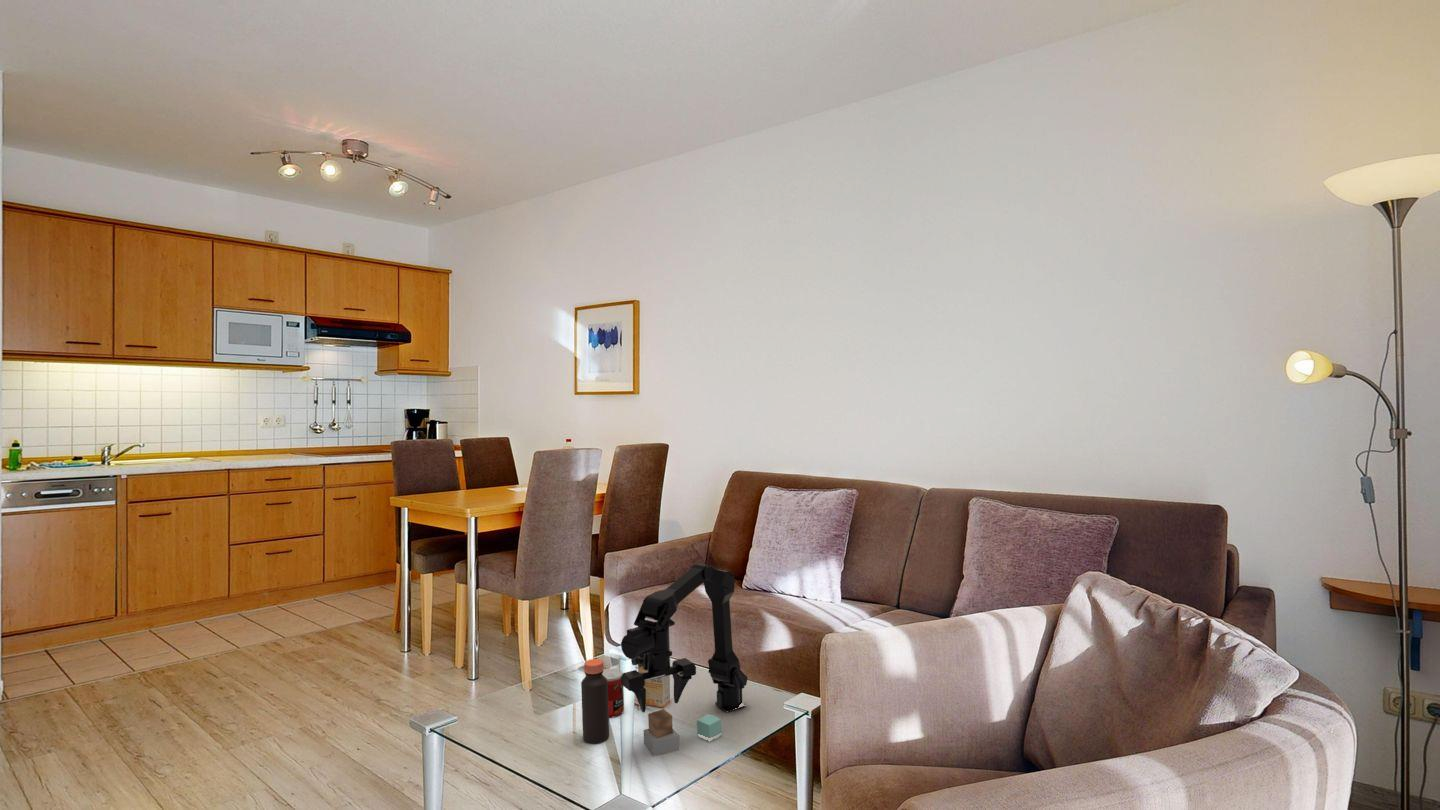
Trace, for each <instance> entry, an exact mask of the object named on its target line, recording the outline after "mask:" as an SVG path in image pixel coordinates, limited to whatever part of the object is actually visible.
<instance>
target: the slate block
mask: <svg viewBox="0 0 1440 810" xmlns="http://www.w3.org/2000/svg"><path fill="white" fill-rule="evenodd" d="M643 745H644V746H645V748H646V749H647V751H648V752H649V753H650V755H651V756H652V757H658V756H660V755H664V754H669V753H673V752H676V751H677V752H678V751H680V735H679V733H677V732H676V730H675V729H674V728H673V733H671V734H668V735H665V736H662V737H659V738H656V737H655V736H654V735H653V734H652V733H650V732H649V728H646V729H643Z"/></svg>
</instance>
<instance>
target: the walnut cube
mask: <svg viewBox="0 0 1440 810" xmlns="http://www.w3.org/2000/svg"><path fill="white" fill-rule="evenodd" d="M647 718H648V720H647V721H648V729H649V732H650V733H652V734H653V735H654V736H655V737H656V738H659V737H662V736H665V735H668V734H671V733H673V729H674V728H673V715H672V714H671V713H670V712H668V711H667V710H666V709H665V708H663V709H660V710H656V711H653V712H650V713H649V712H648V713H647Z"/></svg>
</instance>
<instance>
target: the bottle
mask: <svg viewBox="0 0 1440 810" xmlns="http://www.w3.org/2000/svg"><path fill="white" fill-rule="evenodd" d="M583 666H584V667H583V668H584V674H585V677H584V678H583V679H582V681H581V682H580V687H581V690H580V691H581V692H580V693H581V719H582V722H581V723H582V738H583V741H584V742H585V743H589V744H599V743H600V744H601V743H603V742H605V741H607V740H608V739H609V738H610V737H609V736H610V718H609V711H608V681H607V678H606V677H604V676H603V675H602V673H603V670H604V669H605V668H604V660H602V659H600V658H591V659H587V660H585V661H584V664H583Z"/></svg>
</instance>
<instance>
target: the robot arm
mask: <svg viewBox="0 0 1440 810" xmlns="http://www.w3.org/2000/svg"><path fill="white" fill-rule="evenodd" d="M735 579H736V578H735V575H734V573H732V571H729V570H723V569H718V568H714V567H712V566H709V565H707V564H703V563H695V564H693V565H692V566H691V568H690V569H689V570H688V571H686V572H685V573H684V574H683V575H681V576H680V577H679V578H678V579H677V580H675V581H674V582H672V583H671V584H670V585H669V586H668V587H667V588H664V589H661V590H658V591H654V592H652V593H651V594H649V595H647V596H646V597H644V598H643V600H642V603H641V606H640V608H639V611H638V613H637V615H636V618H635V620H634V622H633V625H634V626H636V627H634V628H628V629H626V634H625V635H624V636H623V637H622V639H621V643H620V648H621V651H622V653H623V655H624V656H625V657H626V658H627V659H630V661H631V665H632V666H638V665H639V668H640V667H643V669H644V670H648V672H647V673H643V674H640V673H639V672H638V670H636V669H635V670H630V671H625V672H623V674H622V676H621V684H622V685H623V688H625V689H627V691H629V692H632V693H633V694H634V695H635V697H636V700H637V703H638V705H639V707H640V710H641V712H642V713H646V709H647V708H646V707H647V705H646V689H645V688H644V685H645V681H648V680H652V679H656V678H660V677H664V676H668V675H670V676H671V675H672V679H673V702H674V703H675V704H678V703H679V701H680V699H681V696H682V694H683V692H684V690H685V687H686V685H687V684H688V682H689V680H691V679H692V678H693V677H692V676H696V674H697V666H696V665H695V663H694V662H692V661H690V660H689V659H687V658H686V657H683V658H679V659H675V660H673V661H672V662H671V657H672V656H673V651H672V650H670V649H671V647H670V627H673V626H675V623H676V622H675V621H674V620H672V617H673V616H674V615H675V613H676V612H677V610H678V605H679V604H680V603H681V602H682V601H683V600H685V599H686V598H687V597H688V596H689V595H690V594H692V593H693V592H694V591H695V590H696V589H697V588H699V587H700V586H701V585H702V584H703V586H704V591H705V593H706V596H708V599H709V601H710V602H711V611H712V626H713V628H712V629H713V641H714V653H712V654H713V655H712V656H711V658H709V659H708V661H707V663H708V664H707V665H708V674H709V675H710V678H711V679H712V683H713V684H715V685H717V690H716V702H715V705H716V706H717V705H718V706H717V707H718V708H720V707H721V708H722V710H723V709H724V710H725V711H724V710H723V711H724V712H726V711H729V712H731V711H730V710H733V709H735V708H738V707H739V705H740V704H741V703H742V702H743V689H745V687H746V686H747V683H748V676H747V675H746V674H745V673H744V672H743V671H742V670H741V666H740V665H741V664H740V660H739V658H738V656H737V654H736V653H735V651H734V649H733V638H732V637H733V634H732V622H731V621H732V619H731V605H730V602H731V601H730V600H731V598H732V597H733V594H734V593H735ZM652 620H654V621H652ZM671 663H672V665H671ZM721 708H720V709H721ZM733 711H734V710H733Z"/></svg>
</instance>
